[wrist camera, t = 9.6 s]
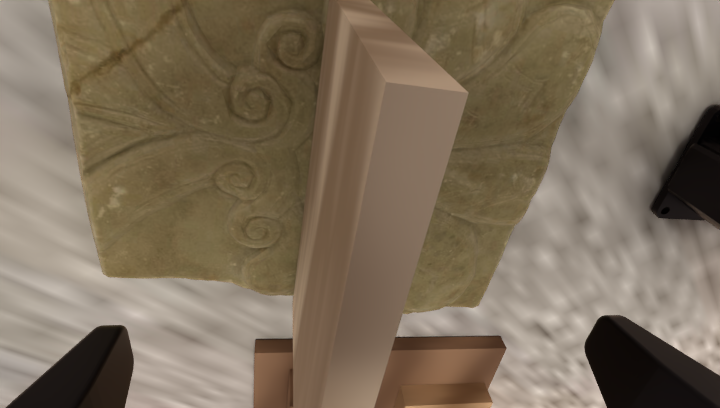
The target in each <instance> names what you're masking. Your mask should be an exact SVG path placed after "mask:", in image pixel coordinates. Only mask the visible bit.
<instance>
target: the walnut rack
mask: <svg viewBox="0 0 720 408" xmlns="http://www.w3.org/2000/svg"><path fill="white" fill-rule="evenodd" d="M505 350H506V346H505V344H504V342H503V341H502V339H501V337H500V336H484V337H413V338H395V340H394V343H393V346H392V350H391V353H390V356H389V360H388V363H387V366H386V370H385V373H384V376H383V380H382V383H381V386H380V390H379V393H378V396H377V400H376V403H375V406H374V408H394V406H395V403H396V399H397V396H398V393H399V389H400V386H403V385H431V384H460V383H485V386H486V388H487V390H488V388H489V385H490V383H491V381H492V379H493V377H494V375H495V372H496V370H497V368H498V366H499V364H500V361H501V359H502V357H503V355H504V353H505ZM254 408H293V339H271V340H256V343H255V362H254Z"/></svg>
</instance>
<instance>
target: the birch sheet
mask: <svg viewBox="0 0 720 408" xmlns="http://www.w3.org/2000/svg"><path fill="white" fill-rule="evenodd" d="M468 94H469V93H468V92H467V91H466V90H465V89H464V88H463V87H462V86H461V85H460V84H459V83H458V82H457V81H456V80H455V79H454V78H452V77H451V76H450V75H449V74H448V73H447V72H446V71H445V70H444V69H443V68H442V67H441V66H440V65H439V64H438V63H436V62H435V61H434V60H433V59H432V58H431V57H430V56H429V55H428V54H427V53H426V52H425V51H424V50H423V49H422V48H421V47H419V46H418V45H417V44H416V43H415V42H414V41H413V40H412V39H411V38H410V37H409V36H408V35H407V34H406V33H405V32H403V31H402V30H401V29H400V28H399V27H398V26H397V25H396V24H395V23H394V22H393V21H392V20H391V19H390V18H389V17H388V16H386V15H385V14H384V13H383V12H382V11H381V10H380V9H379V8H378V7H377V6H376V5H375V4H374V3H373V2H372V1H370V0H329V4H328V12H327V21H326V29H325V37H324V46H323V54H322V62H321V71H320V79H319V88H318V96H317V104H316V113H315V121H314V129H313V138H312V146H311V154H310V163H309V171H308V179H307V188H306V196H305V205H304V213H303V221H302V230H301V238H300V246H299V255H298V263H297V271H296V280H295V288H294V297H293V408H374V406H375V403H376V400H377V396H378V393H379V390H380V386H381V383H382V380H383V376H384V373H385V370H386V366H387V363H388V360H389V356H390V353H391V350H392V346H393V343H394V340H395V336H396V333H397V330H398V327H399V323H400V320H401V317H402V313H403V310H404V307H405V303H406V300H407V297H408V293H409V290H410V287H411V283H412V280H413V277H414V273H415V270H416V267H417V263H418V260H419V257H420V253H421V250H422V247H423V243H424V240H425V237H426V233H427V230H428V227H429V223H430V220H431V217H432V213H433V210H434V207H435V203H436V200H437V197H438V193H439V190H440V187H441V183H442V180H443V177H444V174H445V170H446V167H447V164H448V160H449V157H450V154H451V150H452V147H453V144H454V140H455V137H456V134H457V130H458V127H459V124H460V120H461V117H462V114H463V110H464V107H465V104H466V100H467V97H468Z"/></svg>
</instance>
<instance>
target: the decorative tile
mask: <svg viewBox="0 0 720 408" xmlns="http://www.w3.org/2000/svg"><path fill="white" fill-rule="evenodd" d="M370 1H372V2H373V3H374V4H375V5H376V6H377V7H378V8H379V9H380V10H381V11H382V12H383V13H384V14H385V15H386V16H388V17H389V18H390V19H391V20H392V21H393V22H394V23H395V24H396V25H397V26H398V27H399V28H400V29H401V30H402V31H403V32H405V33H406V34H407V35H408V36H409V37H410V38H411V39H412V40H413V41H414V42H415V43H416V44H417V45H418V46H419V47H421V48H422V49H423V50H424V51H425V52H426V53H427V54H428V55H429V56H430V57H431V58H432V59H433V60H434V61H435V62H436V63H438V64H439V65H440V66H441V67H442V68H443V69H444V70H445V71H446V72H447V73H448V74H449V75H450V76H451V77H452V78H454V79H455V80H456V81H457V82H458V83H459V84H460V85H461V86H462V87H463V88H464V89H465V90H466V91H467V92H468V93H469V94H468V97H467V100H466V104H465V107H464V110H463V114H462V117H461V120H460V124H459V127H458V130H457V134H456V137H455V140H454V144H453V147H452V150H451V154H450V157H449V160H448V164H447V167H446V170H445V174H444V177H443V180H442V183H441V187H440V190H439V193H438V197H437V200H436V203H435V207H434V210H433V213H432V217H431V220H430V223H429V227H428V230H427V233H426V237H425V240H424V243H423V247H422V250H421V253H420V257H419V260H418V263H417V267H416V270H415V273H414V277H413V280H412V283H411V287H410V290H409V293H408V297H407V300H406V303H405V307H404V310H403V313H402V314H409V313H412V312H417V313H419V312H426V311H432V310H437V309H440V308H443V307H445V306H450V307H470V308H474V307H476V306H478V305H479V303H480V301H481V299H482V297H483V295H484V293H485V291H486V289H487V287H488V285H489V282H490V280H491V278H492V276H493V274H494V272H495V270H496V268H497V266H498V264H499V261H500V259H501V257H502V254H503V252H504V249H505V246H506V244H507V241H508V239H509V237H510V234H511V232H512V230H513V228H514V226H515V225H516V224H517V223H518V222H519V221H520V220H521V219H522V217H523V216H524V214H525V213H526V211H527V209H528V206H529V204H530V201H531V199H532V197H533V196H534V194H535V193H536V191H537V189H538V187H539V185H540V183H541V181H542V179H543V176H544V174H545V172H546V169H547V166H548V163H549V159H550V153H551V146H552V144H553V142H554V139H555V136H556V134H557V131H558V128H559V126H560V123H561V121H562V119H563V116H564V114H565V112H566V110H567V108H568V107H569V106H570V104H571V103H572V101H573V100H574V98H575V97H576V95H577V93H578V91H579V89H580V87H581V84H582V82H583V80H584V78H585V76H586V74H587V72H588V70H589V68H590V66H591V63H592V61H593V58H594V54H595V51H596V48H597V45H598V42H599V39H600V35H601V32H602V25H603V21H604V19H605V17H606V15H607V14H608V12H609V10H610V8H611V6H612V4H613V2H614V0H370ZM48 2H49V6H50V11H51V16H52V21H53V26H54V31H55V36H56V41H57V46H58V53H59V58H60V63H61V68H62V74H63V79H64V85H65V90H66V93H67V96H68V101H69V108H70V114H71V122H72V130H73V136H74V142H75V147H76V153H77V159H78V164H79V170H80V176H81V181H82V186H83V192H84V197H85V202H86V207H87V212H88V216H89V220H90V224H91V229H92V233H93V237H94V241H95V244H96V248H97V252H98V257H99V260H100V264H101V268H102V272H103V274H104V275H106V276H108V277H118V278H187V279H194V280H207V281H208V280H215V281H222V282H232V283H234V284H236V285H238V286H241V287H243V288H248V289H252V290H254V291H256V292H259V293H261V294H265V295H270V296H271V295H294V288H295V280H296V271H297V263H298V255H299V246H300V238H301V230H302V221H303V213H304V205H305V196H306V188H307V179H308V171H309V163H310V154H311V146H312V138H313V129H314V121H315V113H316V104H317V96H318V88H319V79H320V71H321V62H322V54H323V46H324V37H325V29H326V21H327V12H328V4H329V0H48Z"/></svg>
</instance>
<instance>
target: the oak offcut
mask: <svg viewBox="0 0 720 408" xmlns="http://www.w3.org/2000/svg"><path fill="white" fill-rule="evenodd" d="M492 403H493V402H492V400H491V397H490V395H489V393H488V390H487V388H486V386H485V383H460V384H431V385H403V386H400V389H399V393H398V396H397V399H396V403H395V406H394V408H490V407H491V405H492Z"/></svg>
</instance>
